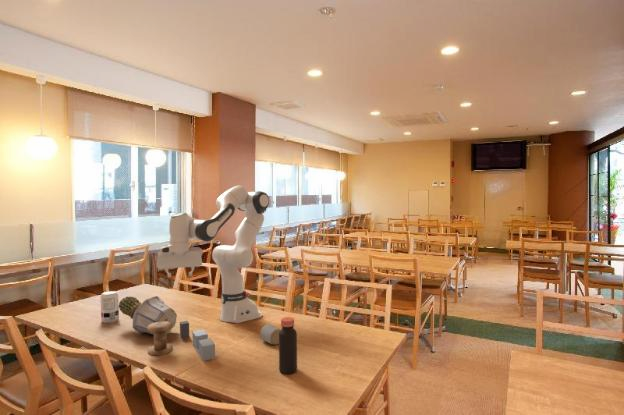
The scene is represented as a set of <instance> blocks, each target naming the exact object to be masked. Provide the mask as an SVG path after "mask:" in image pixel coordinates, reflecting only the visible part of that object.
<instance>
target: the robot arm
mask: <svg viewBox="0 0 624 415" xmlns="http://www.w3.org/2000/svg"><path fill="white" fill-rule="evenodd" d="M269 203H270V197H269V195H268V194H267V193H266V192H264V191H260V190H258V191H247V189H246V188H245V187H244V186H242V185H240V184H239V185H235V186H233V187H231V188H229V189H227V190H226V191H224V192H223V193H222V194H220V195H219V196H218V198H217V199H216V201H215V207H216V209H217V211H218V212H217V213H216V214H215V215H213V217H211V218H209V219H197V218H195V217H192V216H190V215H189V214H188V213H187V212H180V213H179V212H178V213H174V214H172V215H171V217H170V219H169V228H168V229H169V235H170V238H169V244H167V245H163V246H161V247H160V248H159V253H158V255H157V258H156V268H158V269H164V271H165V273H166V274H167V278H169V279H171V278H172V273H171V272H169V269H177V268H191V271H189V272H188V277H193V272H194V271H195V268H199V267H202V265H203V259H202V256H203V254H204V252H203V249H202V248H201V247H199V246H196V247H195V246H190V239H193V240H199V241H203V242H211V241H213V240H214V239H215V238H216V237H217V235H218V233H219V231H220V230H221V229H222V227H223V226H224V225H225V224H226V223H227V222H228V221H229V220H230V219H231V218H232V217H233V216H234V214H235V211H237V210H239V211H241V212H246V213H245V216H244V218H243V219H242V221H241V222H240V224H239V225H238V227H237V229H236V230H235V232H234V238H235V243H234V244H233V245H228V244H221V245H217V246H216V247H214V248H213V250H212V254H211V257H212V260H213V261H214V263H215V264H216V265H217V267H218V270H219V272H220V276H221V284H222V286H221V287H222V292H221V303H222V304H221V312H220V316H219V320H220V321H222V322H224V323H235V324H240V323H243V322H248V321H253V320H256V319H258V318H262V317H263V312H261V311H260V310H259V308H258V305H257V303H256V302H255V301H253V300H252V299H250V298H249V297H250V295H251V293H250V292H249V291H248V292H247V291H246V290H245V289H244V276H243V275H242V273H241V272H240V271H239V269H242V268H248V267H251V264H252V262H253V260H254V254H253V252H252V246H253V243H254V241H255V239H256V238H257V236H258V234H259V233H260V230H261V228H262V226H263V224H264V221H265V216H264V213H266V211H267V209H268V207H269V205H270V204H269Z"/></svg>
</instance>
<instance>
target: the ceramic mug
mask: <svg viewBox="0 0 624 415" xmlns="http://www.w3.org/2000/svg"><path fill="white" fill-rule="evenodd" d="M280 330H281V329H280V328H278V327H277V326H275V325H273V324H271V323H267V324H266V323H265V324H264V326H262V328H261V330H260V334H259V335H260V338H261V339H262V341H264V342H266V343H269V345H275V346H276V345H279V332H280Z"/></svg>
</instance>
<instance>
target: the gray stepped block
mask: <svg viewBox="0 0 624 415" xmlns="http://www.w3.org/2000/svg"><path fill="white" fill-rule="evenodd" d="M192 346H193V348H195V350H196V352H197V354H198V356H199V357H200V359H201V360H202V362H206V361H210V360H215V359H216V344H215V342H214V341H213V339H212V338H211V337H210V338H209V334H208V333H207V331H206V330H205V329H204V328H203V329H198V330H193V331H192Z"/></svg>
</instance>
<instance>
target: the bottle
mask: <svg viewBox="0 0 624 415" xmlns="http://www.w3.org/2000/svg"><path fill="white" fill-rule="evenodd" d="M280 324H281V325H280V326H281V329H280V332H279V343H278V356H279V358H278V362H279V363H278V366H279V367H278V369H279V372H280V373H281V374H283V375H292V374H295V373H296V372H297V371H298V342H297V341H298V338H297V336H298V333H297V330H296V329H295V328H294V326H295V317H290V316H285V317H282V318H281V320H280Z"/></svg>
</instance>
